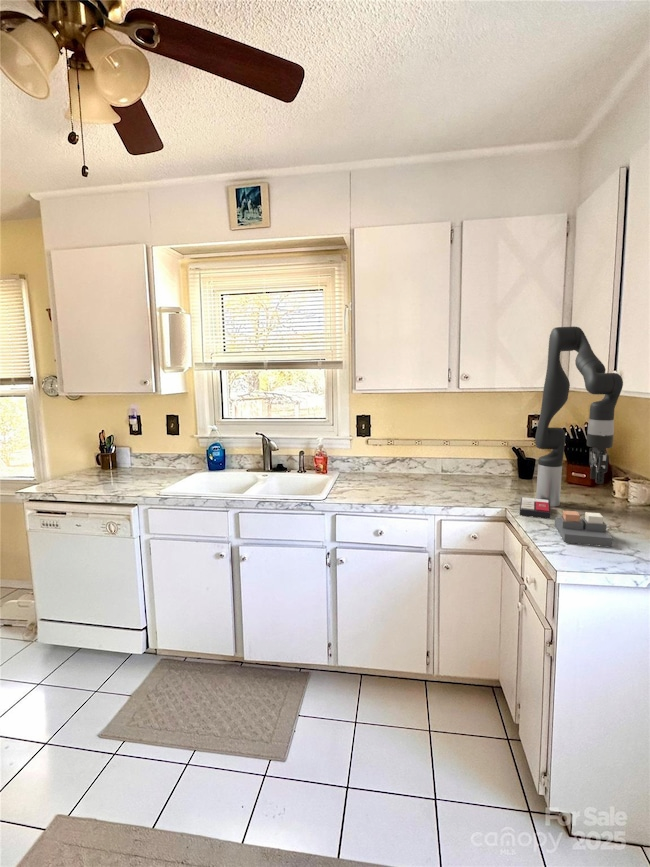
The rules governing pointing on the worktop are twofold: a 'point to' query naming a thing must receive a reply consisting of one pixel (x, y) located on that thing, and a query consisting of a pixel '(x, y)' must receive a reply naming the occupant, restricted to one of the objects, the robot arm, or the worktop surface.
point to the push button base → (583, 532)
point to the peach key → (571, 516)
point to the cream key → (594, 518)
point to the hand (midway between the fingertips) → (596, 481)
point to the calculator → (535, 507)
